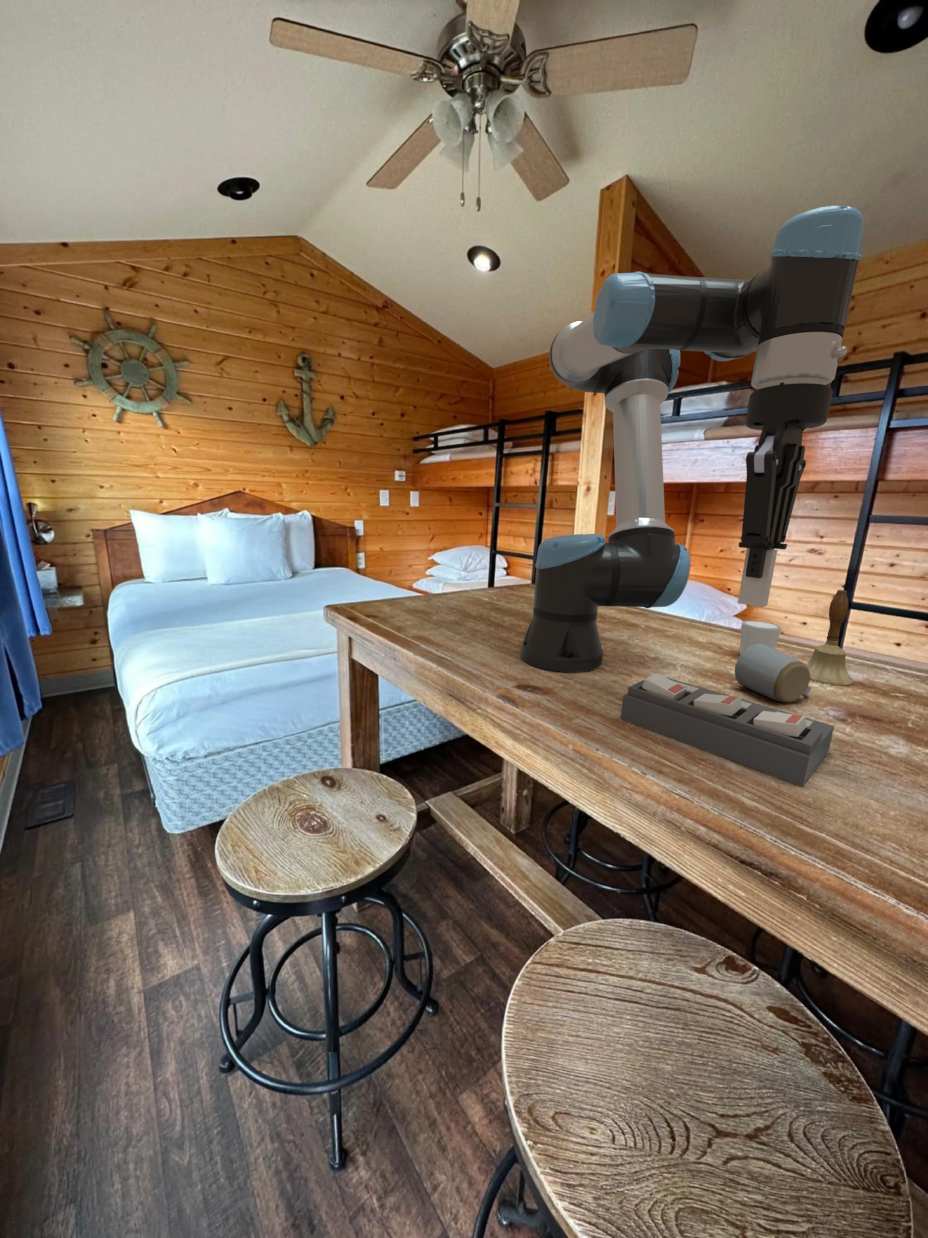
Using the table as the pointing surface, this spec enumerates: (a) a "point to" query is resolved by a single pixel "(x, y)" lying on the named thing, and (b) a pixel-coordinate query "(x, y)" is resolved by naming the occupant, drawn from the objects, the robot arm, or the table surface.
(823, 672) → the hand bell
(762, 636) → the white cylinder
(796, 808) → the table surface
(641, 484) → the robot arm
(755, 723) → the rocker
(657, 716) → the rocker switch box
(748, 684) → the ceramic mug
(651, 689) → the rocker
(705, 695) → the middle rocker
